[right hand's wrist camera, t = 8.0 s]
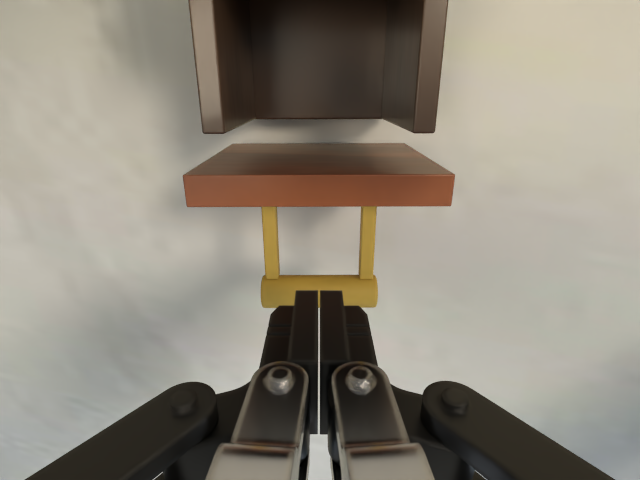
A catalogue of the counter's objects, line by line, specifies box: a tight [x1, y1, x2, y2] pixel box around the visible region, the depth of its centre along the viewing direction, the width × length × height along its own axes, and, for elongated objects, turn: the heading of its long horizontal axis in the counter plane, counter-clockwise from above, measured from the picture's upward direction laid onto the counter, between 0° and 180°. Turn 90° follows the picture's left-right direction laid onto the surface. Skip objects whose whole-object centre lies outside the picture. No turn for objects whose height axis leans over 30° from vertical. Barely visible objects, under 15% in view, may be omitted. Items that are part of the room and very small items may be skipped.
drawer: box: [183, 0, 455, 308], centre depth 16 cm, size 23×10×9 cm, turn 0°
